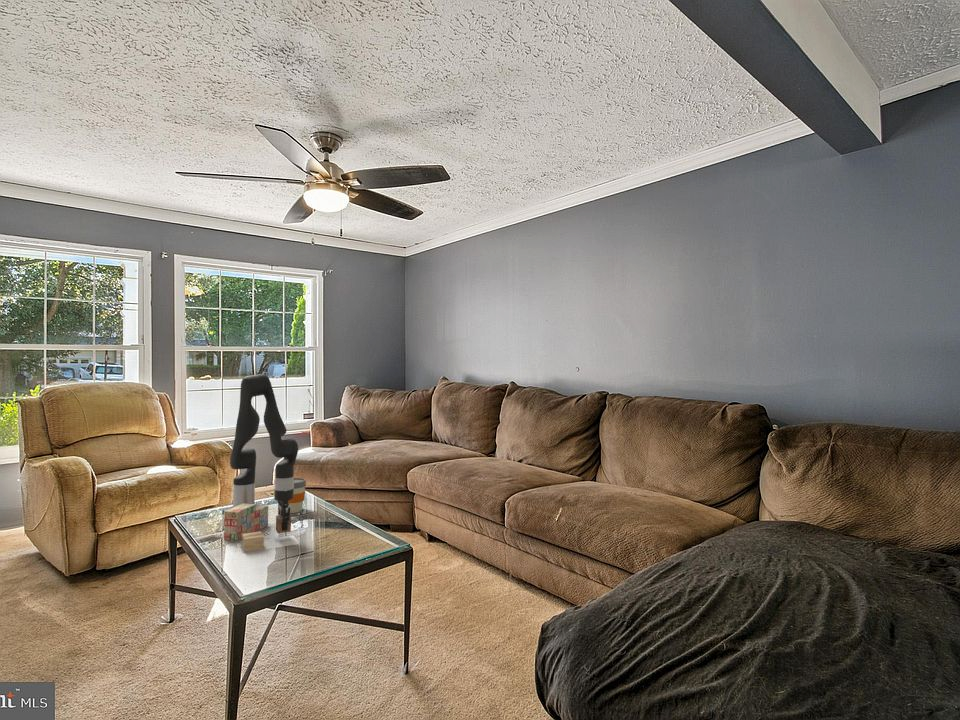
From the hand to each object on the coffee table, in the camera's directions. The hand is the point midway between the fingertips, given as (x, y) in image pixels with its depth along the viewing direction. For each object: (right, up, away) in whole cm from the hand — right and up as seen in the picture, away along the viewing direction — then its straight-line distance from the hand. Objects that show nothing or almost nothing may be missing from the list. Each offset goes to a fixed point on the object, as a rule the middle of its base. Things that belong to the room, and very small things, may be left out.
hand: (283, 528), depth 211 cm
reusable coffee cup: (-12, -6, +43) cm, 45 cm away
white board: (-4, -5, -6) cm, 9 cm away
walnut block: (0, -1, 0) cm, 1 cm away
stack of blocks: (-19, -5, +9) cm, 22 cm away
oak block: (-8, -4, -11) cm, 14 cm away
